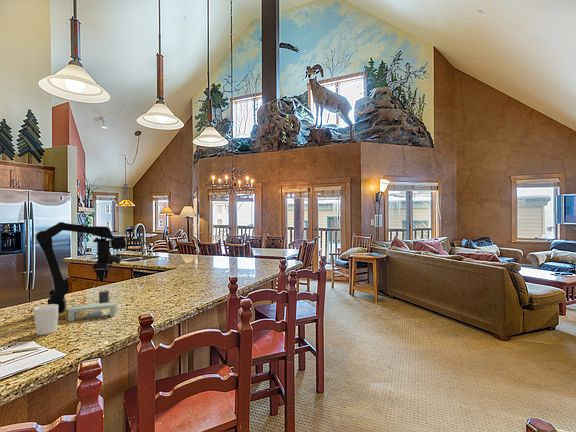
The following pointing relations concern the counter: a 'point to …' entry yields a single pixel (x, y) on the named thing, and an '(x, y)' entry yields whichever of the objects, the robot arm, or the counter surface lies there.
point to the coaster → (93, 315)
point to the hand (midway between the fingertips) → (103, 280)
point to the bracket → (74, 309)
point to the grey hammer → (103, 299)
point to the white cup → (46, 319)
